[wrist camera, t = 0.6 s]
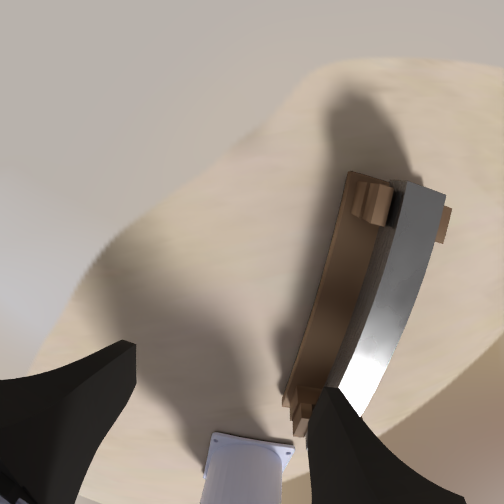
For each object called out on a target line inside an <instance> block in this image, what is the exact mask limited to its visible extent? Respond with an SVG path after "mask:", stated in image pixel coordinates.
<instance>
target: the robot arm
mask: <svg viewBox="0 0 504 504" xmlns="http://www.w3.org/2000/svg"><path fill="white" fill-rule="evenodd" d="M135 386H136V344H134V343H131V342H128V341H125V340H120V341H118V342H116V343H114V344H112V345H110V346H108V347H106V348H104V349H101V350H99V351H97V352H95V353H93V354H91V355H89V356H87V357H85V358H83V359H80V360H78V361H75V362H73V363H70V364H68V365H65V366H63V367H60V368H57V369H54V370H51V371H48V372H44V373H41V374H37V375H33V376H27V377H22V378H16V379H8V380H0V504H75V500H76V498H77V495H78V493H79V490H80V487H81V485H82V482H83V480H84V477H85V475H86V473H87V470H88V468H89V466H90V463H91V461H92V459H93V457H94V455H95V453H96V451H97V449H98V447H99V445H100V444H101V442H102V440H103V439H104V437H105V436H106V434H107V433H108V431H109V430H110V428H111V427H112V425H113V424H114V422H115V421H116V419H117V418H118V416H119V415H120V413H121V412H122V410H123V409H124V407H125V406H126V404H127V402H128V400H129V398H130V396H131V394H132V392H133V390H134V388H135ZM216 439H217V440H216ZM307 448H308V459H309V468H310V477H311V488H312V504H466V502H465V499H464V497H462V496H460V495H458V494H455V493H453V492H450V491H448V490H446V489H444V488H442V487H440V486H438V485H436V484H434V483H433V482H431V481H429V480H427V479H426V478H424V477H423V476H421V475H420V474H418V473H417V472H415V471H414V470H413V469H411V468H410V467H409V466H407V465H406V464H405V463H403V462H402V461H401V460H400V459H398V458H397V457H396V456H395V455H394V454H393V453H392V452H391V451H390V450H389V449H388V448H387V447H386V446H385V445H384V444H383V443H382V442H381V441H380V440H379V439H378V438H377V436H376V435H375V434H374V433H373V432H372V431H371V429H370V428H369V427H368V426H367V425H366V423H365V422H364V421H363V420H362V418H361V417H360V416H359V414H358V413H357V412H356V410H355V409H354V407H353V406H352V405H351V403H350V402H349V401H348V399H347V398H346V396H345V395H344V394H343V392H342V391H341V390H340V388H334V387H325V386H324V388H323V390H322V393H321V395H320V397H319V399H318V402H317V404H316V406H315V408H314V410H313V413H312V415H311V417H310V419H309V421H308V432H307ZM294 451H295V447H294V446H293V445H287V444H279V443H272V442H266V441H260V440H254V439H248V438H243V437H238V436H233V435H228V434H223V433H219V432H214V433H213V434H212V437H211V442H210V447H209V451H208V456H207V461H206V466H205V471H204V476H203V478H204V479H205V480H206V481H205V485H204V489H203V492H202V496H201V500H200V504H281V494H282V473H283V471H284V469H285V468H286V466H287V464H288V462H289V461H290V459H291V457H292V455H293V453H294Z"/></svg>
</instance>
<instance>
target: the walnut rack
mask: <svg viewBox="0 0 504 504" xmlns="http://www.w3.org/2000/svg"><path fill="white" fill-rule="evenodd" d="M389 183H390V182H386V181H383V180H380V179H377V178H373V177H370V176H367V175H363V174H360V173H356V172H353V171H348V174H347V179H346V183H345V188H344V192H343V197H342V201H341V205H340V209H339V214H338V218H337V222H336V226H335V230H334V234H333V238H332V241H331V245H330V249H329V253H328V256H327V260H326V264H325V267H324V271H323V275H322V278H321V282H320V285H319V288H318V292H317V295H316V299H315V302H314V305H313V309H312V312H311V315H310V318H309V321H308V325H307V328H306V331H305V334H304V337H303V340H302V343H301V346H300V349H299V352H298V355H297V358H296V361H295V364H294V367H293V370H292V372H291V375H290V378H289V381H288V384H287V386H286V389H285V392H284V395H283V397H282V407H288V408H290V421H293V436H295V437H305V435H306V433H307V431H308V421H309V419H310V417H311V415H312V411H313V409H314V407H315V405H316V403H317V400H318V398H319V396H320V394H321V391H322V389H323V387H324V385H325V382H326V380H327V378H328V375H329V373H330V371H331V368H332V366H333V363H334V361H335V358H336V356H337V353H338V351H339V348H340V346H341V343H342V341H343V338H344V335H345V333H346V330H347V327H348V325H349V322H350V319H351V316H352V313H353V311H354V308H355V305H356V302H357V299H358V296H359V293H360V290H361V287H362V284H363V281H364V277H365V274H366V271H367V268H368V264H369V261H370V258H371V254H372V251H373V247H374V244H375V240H376V236H377V233H378V229H379V226H383V227H385V224H386V220H387V216H388V212H389V208H390V204H391V200H392V195H393V191H394V188H391V187H389ZM451 211H452V208H449V207H447V206H444V207H443V212H442V216H441V220H440V224H439V228H438V231H437V235H436V239H435V242H438V243H442V244H443V242H444V239H445V235H446V231H447V227H448V224H449V220H450V215H451ZM360 417H361V418H362V415H361V416H360ZM362 420H363V418H362Z"/></svg>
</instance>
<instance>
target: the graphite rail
mask: <svg viewBox="0 0 504 504" xmlns="http://www.w3.org/2000/svg"><path fill="white" fill-rule="evenodd" d="M389 187H391V188H394V191H393V195H392V200H391V204H390V208H389V212H388V216H387V220H386V224H385V227H383V226H379V229H378V233H377V236H376V240H375V244H374V247H373V251H372V254H371V258H370V261H369V264H368V268H367V271H366V274H365V277H364V281H363V284H362V287H361V290H360V293H359V296H358V299H357V302H356V305H355V308H354V311H353V313H352V316H351V319H350V322H349V325H348V327H347V330H346V333H345V335H344V338H343V341H342V343H341V346H340V348H339V351H338V353H337V356H336V358H335V361H334V363H333V366H332V368H331V371H330V373H329V375H328V378H327V380H326V382H325V385H324V386H325V387H334V388H340V390H341V391H342V392H343V394H344V395H345V396H346V398H347V399H348V401H349V402H350V403H351V405H352V406H353V407H354V409H355V410H356V412H357V413H358V414H359V416H361V415H362V413H363V411H364V409H365V408H366V406H367V404H368V402H369V400H370V399H371V397H372V395H373V393H374V391H375V389H376V387H377V386H378V384H379V382H380V380H381V378H382V376H383V374H384V372H385V370H386V368H387V366H388V364H389V362H390V359H391V357H392V355H393V353H394V351H395V349H396V346H397V344H398V342H399V340H400V337H401V335H402V333H403V330H404V328H405V326H406V323H407V321H408V318H409V316H410V313H411V311H412V308H413V306H414V303H415V300H416V298H417V295H418V292H419V289H420V286H421V284H422V281H423V278H424V275H425V272H426V269H427V266H428V262H429V259H430V256H431V253H432V249H433V246H434V242H435V239H436V235H437V231H438V228H439V224H440V220H441V216H442V212H443V207H444V203H445V199H446V195H445V194H442V193H440V192H437V191H434V190H432V189H429V188H426V187H423V186H421V185H418V184H415V183H412V182H409V181H401V180H390V183H389ZM323 388H324V387H323ZM322 390H323V389H322ZM321 393H322V391H321ZM320 395H321V394H320ZM319 397H320V396H319ZM318 399H319V398H318ZM317 402H318V400H317ZM316 404H317V403H316ZM315 406H316V405H315ZM314 408H315V407H314ZM313 410H314V409H313ZM312 413H313V411H312ZM307 432H308V431H307ZM305 436H306V450H308V448H307V433H306V435H305Z"/></svg>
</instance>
